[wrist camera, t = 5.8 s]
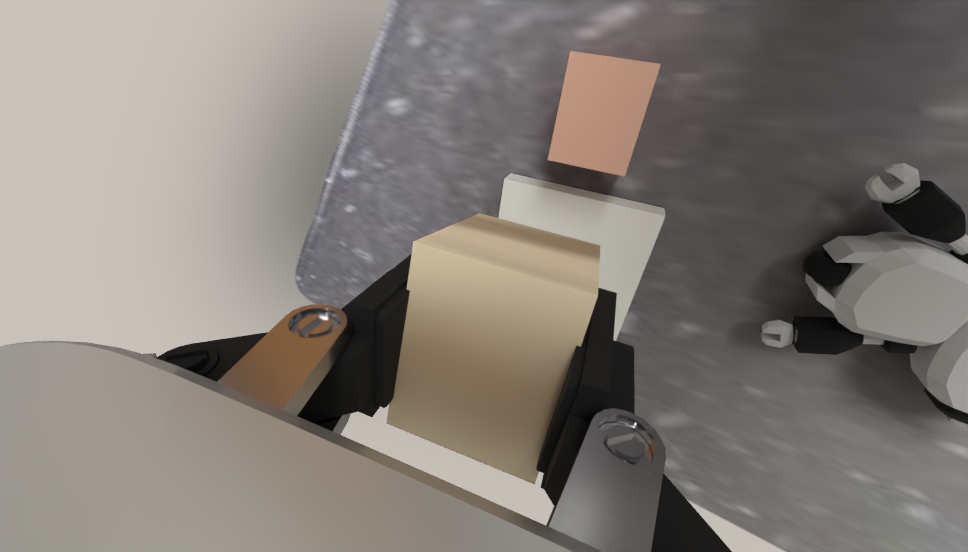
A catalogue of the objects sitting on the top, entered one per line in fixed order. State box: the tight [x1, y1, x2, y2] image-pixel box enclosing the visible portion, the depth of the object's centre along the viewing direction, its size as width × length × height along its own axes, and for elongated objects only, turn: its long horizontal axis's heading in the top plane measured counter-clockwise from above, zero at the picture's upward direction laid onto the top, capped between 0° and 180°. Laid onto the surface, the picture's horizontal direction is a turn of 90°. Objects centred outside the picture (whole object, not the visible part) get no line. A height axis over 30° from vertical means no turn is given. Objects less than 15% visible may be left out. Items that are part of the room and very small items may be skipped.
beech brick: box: [387, 213, 600, 484], centre depth 11 cm, size 5×4×5 cm
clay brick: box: [548, 51, 661, 177], centre depth 20 cm, size 5×4×5 cm
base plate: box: [498, 173, 666, 341], centre depth 27 cm, size 10×10×2 cm
